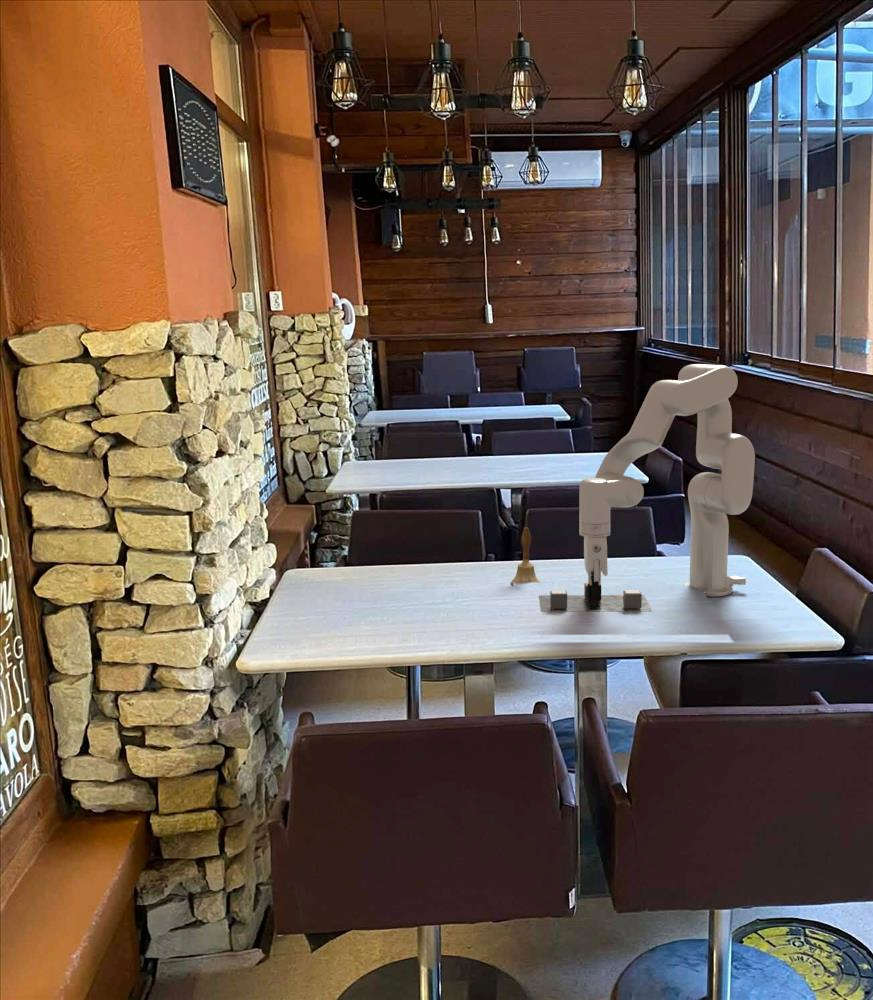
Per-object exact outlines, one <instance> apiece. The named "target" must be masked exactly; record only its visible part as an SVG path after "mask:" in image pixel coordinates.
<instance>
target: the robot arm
mask: <svg viewBox="0 0 873 1000" xmlns="http://www.w3.org/2000/svg"><path fill="white" fill-rule="evenodd" d="M677 375H678V377H677V378H678V379H677V380H675V379H673V380H672V379H662V380H661V379H660V380H658V381H655V382H654V383H653V384H652V385H651V386H650V388H649V390H648V392H647V394H646V396H645V398H644V401H642V405H641V407H640V408H639V411H638V413H637V416H635V419H634V421H633V424H632V425H631V428H630V430H629V431H628V433H627V434H626V435H625V436H623V437H622V438H621V439H620V440H619V441H618V442H617V443H616V444H615V445H614V446H613V447H612V448H611V449H610V450H609V451H608V452H607V453H606V455H605V456H604V458H603V460H602V461H601V463H600V465H599V467H598V470H597V472H596V474H595V477H589V478H584V479H582V480H581V481H580V483H579V488H578V489H579V491H578V492H579V494H578V495H579V497H578V498H579V499H578V500H579V503H578V504H579V505H578V507H579V516H578V517H579V520H578V521H579V527H578V528H579V529H578V530H579V532H578V533H579V536H581V537H583V557H584V559H583V560H584V568H585V571H586V574H587V577H588V578H587V579H588V582H587V583H589V584H588V600H589V601H601V595H602V575H603V576H605V577H607V576H608V573H609V572H608V544H607V543H608V542H607V537H608V536H609V537H610V536H611V508H631V507H634V506H636V505H638V504H639V503H640V502H641V501H642V500H643V498H644V494H645V493H644V492H645V490H644V486H643V484H641V482H640V481H639V480H638V479H636V478H633V477H631V476H626V475H625V473H626V471H627V469H628V468H629V467H630V466H631V464H632V463H633V462H634V461H636V460H638V459H639V458H641V457H643V456H646V454H650V453H652V452H653V451H655V450H657V449H659V448H661V446H662V445H663V443H664V440H665V439H666V436H667V433H668V431H669V430H670V428H671V425H672V423H673V420H674V419H675V417H676V416H681V417H689V416H692V415H695V414H697V424H696V426H697V429H696V445H695V457H696V460H697V462H698V463H699V464H700V465H702V466H705V467H707V468H711V469H714V470H715V469H716V470H721V473H716V472H712V471H711V472H709V471H706V472H705V471H704V472H700V473H698V474H696V475H694V476H693V478H691V480H690V482H689V484H688V488H687V497H688V504H689V509H690V510H689V511H690V544H689V545H690V546H689V547H690V549H689V581H687V582H685V583H684V584H683V586H687V587H688V586H690V587H691V588H693V589H696V590H701V591H702V592H703V594H704V595H705V596H706V597H709V598H710V597H713V598H715V597H724V596H728V595H730V594H732V593H733V589H734V585H740V586H741V585H742V586H744V585H746V584H747V582H746V581H747V580H746V577H739V575H737V576H736V575H733V576H730V575H729V573H728V562H729V561H728V556H729V553H728V552H729V534H730V533H729V530H730V529H729V528H730V527H729V519H728V516H727V515H731V516H733V515H734V516H735V515H741V514H742V513H744V512H745V511H747V509H748V508H749V506H750V505H751V501H752V498H753V490H754V489H753V488H754V476H755V465H756V464H755V463H756V453H755V448H754V446H753V444H752V442H751V441H750V439H749V438H748V437H747V436H745V435H742V434H738V433H733V431H732V429H733V426H732V425H733V423H732V422H733V417H732V416H733V412H732V406H731V404H730V401H729V398H731V396H733V394H735V392H736V390H737V388H738V381H739V380H738V375H737V374H736V372H735V370H734V369H733V368H732V367H729V366H727V365H723V364H705V363H703V364H702V363H693V364H688V365H684V366H683V367H682V368H681V369H680V371H679V372H678V374H677Z"/></svg>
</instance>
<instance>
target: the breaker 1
mask: <svg viewBox="0 0 873 1000" xmlns="http://www.w3.org/2000/svg"><path fill="white" fill-rule="evenodd" d="M549 593H550V594H549V595H550V606H551V608H567V595H568V592H567V590H549Z"/></svg>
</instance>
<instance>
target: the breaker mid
mask: <svg viewBox="0 0 873 1000" xmlns="http://www.w3.org/2000/svg"><path fill="white" fill-rule="evenodd" d="M588 584H589V583H588V582H584V585H583V586H584V590H583V592H584V593H583V594H584V597H585V600H588Z"/></svg>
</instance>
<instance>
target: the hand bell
mask: <svg viewBox="0 0 873 1000" xmlns="http://www.w3.org/2000/svg"><path fill="white" fill-rule="evenodd" d="M531 542H532V536H531V532H530V528H529V527H527V526H526V527H523V529H522V533H521V545H522V552H523V553H522V554H523V555H522V562H520V563H518V564H517V570H516V574H515V576H514V577H513V579H512V580H511V581H510V585H512V586H514V583H541V581H540V580H539V579H538V577H537V575H536V571H535V565H534V564H533V563H532V562H530V547H531Z"/></svg>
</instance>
